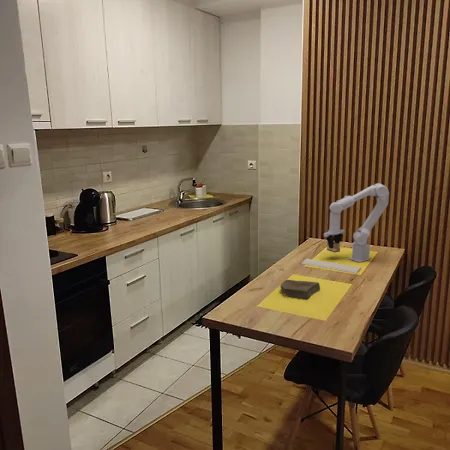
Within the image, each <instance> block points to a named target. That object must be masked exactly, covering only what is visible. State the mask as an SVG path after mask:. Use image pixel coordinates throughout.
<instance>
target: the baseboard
mask: <svg viewBox="0 0 450 450" xmlns="http://www.w3.org/2000/svg"><path fill="white" fill-rule="evenodd" d="M304 264H305V265H306V266H310V265H311V267H316V266H317V267H318V268H321V267H322V268H323V269H327V268H329V269H328V270H333V269H334V271H339V272H345V273H349V274H350V273H352V274H355V275H356V274H358V273H359V272H360V270H362V267H361V266H355V265H349V264H343V263H336V262H330V261H325V260H318V259H312V258H307V256H306V257H305V258H302V260H301V262H300V265H304ZM305 265H304V266H305ZM317 267H316V268H317Z"/></svg>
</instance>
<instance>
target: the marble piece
mask: <svg viewBox="0 0 450 450" xmlns="http://www.w3.org/2000/svg"><path fill="white" fill-rule="evenodd" d="M280 290H281V292H282V293H283V294H284V295H286V296H287V297H288V298H292V299H293V298H294V299H299V300H306V299H310V298H311V297H312V296H313V295H314V294H316V293H318V292H319V291H320V290H321V286H320V283H319V282H317V281H306V280H294V279H285V280H283V282H282V283H281V284H280Z"/></svg>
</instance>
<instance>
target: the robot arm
mask: <svg viewBox="0 0 450 450" xmlns="http://www.w3.org/2000/svg"><path fill="white" fill-rule="evenodd" d="M368 196H371V197H375V198H376V201H377V203H376V204H375V206H374V207H373V209H372V210H371V212H370V213H369V215H368V217H367V218H366V219H365V221H364V222H363V224H362V225H361V226H360V227H359V228H358V229H357V230H356V231H355V232H353V234H352V238H353V242H352V251H351V252H352V254H351V257H348V259H349V260H351V261H355V262H357V263H362V262H366V261H369V260H371V258H370V252H371V248H370V245H369V243H368V238H369V237H370V234H371V230H372V229H373V228H374V226H375V225H376V224H377V222H378V220H379V219H380V217H381V216H382V214H384V213H383V212H384V211H385V210H386V208H387V207H388V206H389V201H390V200H389V199H390V198H389V196H390V192H389V188H388V187H387V186H386V185H384V184H382V183H380V182H379V183H374V184H372V185H370V186H368V187H366V188H365V189H362V190H361V191H359V192H357V193H356V194H354V195H345V196H344V197H343V198H341V199H340V200H336V202H335V201H334V202H331V204H330V205H329V207H328V208H329V211H330V213H329V227H328V228H329V229H328V230H327V231H326V232H324V233H323V237H325V239H326V241H327V242H328V245H329V248H331V249H332V248H333V243H334V242H336V243H339V244H341V241H342V239H343V237H344V234H345V229H341V213H342V211H344V210H346V209H348V208H350V207H352V206H354V205H355V203H356V202H357V201H359V200H362V199H364V198H366V197H368Z"/></svg>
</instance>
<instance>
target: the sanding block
mask: <svg viewBox="0 0 450 450" xmlns="http://www.w3.org/2000/svg"><path fill="white" fill-rule="evenodd" d="M326 251H328V252H331V253H334V254H336V253H339V252H341V243H336V242H335V241H334V243H333V248H332V249H331V248H329V245H328V241H327V243H326Z"/></svg>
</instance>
